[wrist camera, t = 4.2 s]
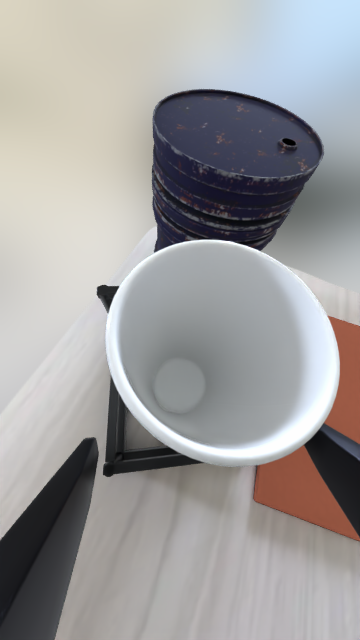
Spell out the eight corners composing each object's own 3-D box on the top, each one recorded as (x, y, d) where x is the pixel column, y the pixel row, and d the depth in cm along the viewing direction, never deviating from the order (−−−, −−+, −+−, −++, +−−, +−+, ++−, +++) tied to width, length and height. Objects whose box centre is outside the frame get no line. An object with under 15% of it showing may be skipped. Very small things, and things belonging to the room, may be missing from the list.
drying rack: (245, 447, 17) (321, 478, 9) (115, 462, 16) (70, 516, 8) (223, 330, 22) (261, 283, 14) (121, 334, 21) (97, 284, 12)
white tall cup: (216, 422, 18) (397, 455, 4) (142, 429, 17) (82, 496, 4) (207, 350, 21) (298, 238, 7) (142, 353, 20) (110, 232, 6)
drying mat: (387, 550, 15) (394, 555, 15) (253, 499, 16) (255, 501, 15) (363, 330, 24) (367, 328, 24) (276, 301, 24) (279, 299, 24)
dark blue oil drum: (140, 300, 23) (114, 135, 9) (172, 244, 27) (187, 75, 13) (221, 332, 22) (322, 206, 8) (241, 270, 26) (329, 119, 13)
